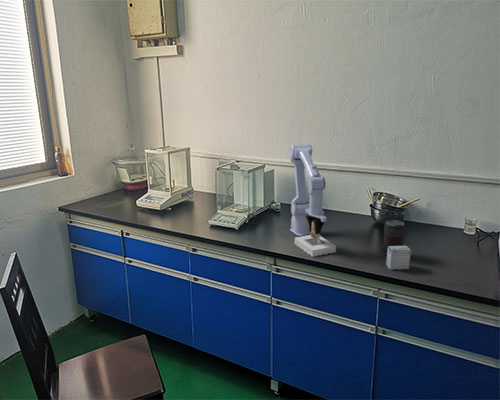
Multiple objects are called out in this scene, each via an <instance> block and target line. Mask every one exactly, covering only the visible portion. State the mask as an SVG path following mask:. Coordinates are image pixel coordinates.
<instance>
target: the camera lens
mask: <svg viewBox="0 0 500 400" xmlns="http://www.w3.org/2000/svg"><path fill="white" fill-rule="evenodd" d="M405 229H406V228H405V223H404V221H401V220H398V219H388V220H386V221H385V222H384V227H383V234H384V235H383V243H382V249H383V250H382V251H383V255H384V256H385V257H386V258H387V249H388V246H404V236H405Z"/></svg>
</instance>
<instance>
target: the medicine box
mask: <svg viewBox="0 0 500 400" xmlns="http://www.w3.org/2000/svg"><path fill="white" fill-rule="evenodd" d="M411 253H412V250H411V248H409V247H408V246H407V245H403V246H388V249H387V257H386V260H385V265H386V267H387V268H388V269H389V270H390V271H392V270H394V271H395V269H396V270H409V269H410V260H411Z"/></svg>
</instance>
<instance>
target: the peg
mask: <svg viewBox="0 0 500 400" xmlns="http://www.w3.org/2000/svg"><path fill="white" fill-rule="evenodd" d="M310 232H311V234H310V235H311V237H313V238H320V236H321V233H320V234H315V226H314V222H313V221H312V229H311V231H310Z"/></svg>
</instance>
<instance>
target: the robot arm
mask: <svg viewBox="0 0 500 400" xmlns="http://www.w3.org/2000/svg"><path fill="white" fill-rule="evenodd" d="M312 155H313V147H312V145H311V143H308V144H306V143H305V144H291V145H290V147H289V160H290V162H291V163H292V164H293V167H294V176H295V177H294V183H295V193H296V196H295V197H294V198H293V199H292V201H291V202H290V203H291V204H290V205H291V206H290V211H291V215H292V216H291V220H290V222H291V223H290V229H289V231H290V232H292V233H293V234H295V235H296V236H297V237H302V236H307V235H311V229H312V221H313V222H314V226H315V234H320V235H321V232H322V229H323V226H324V225H325V223H326V222H327V217H326V216H325V212H324V211H323V206H324V205H323V201H324V198H323V197H324V190H325V189H326V185H327V184H326V179H325V176H323V175H322V174H321V173H320V171H319V169H318V166H317V165H316V164H314V163H313V160H312ZM306 179H307V186H308V194H309V197H308V196H307V189H306V188H307V187H306Z"/></svg>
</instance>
